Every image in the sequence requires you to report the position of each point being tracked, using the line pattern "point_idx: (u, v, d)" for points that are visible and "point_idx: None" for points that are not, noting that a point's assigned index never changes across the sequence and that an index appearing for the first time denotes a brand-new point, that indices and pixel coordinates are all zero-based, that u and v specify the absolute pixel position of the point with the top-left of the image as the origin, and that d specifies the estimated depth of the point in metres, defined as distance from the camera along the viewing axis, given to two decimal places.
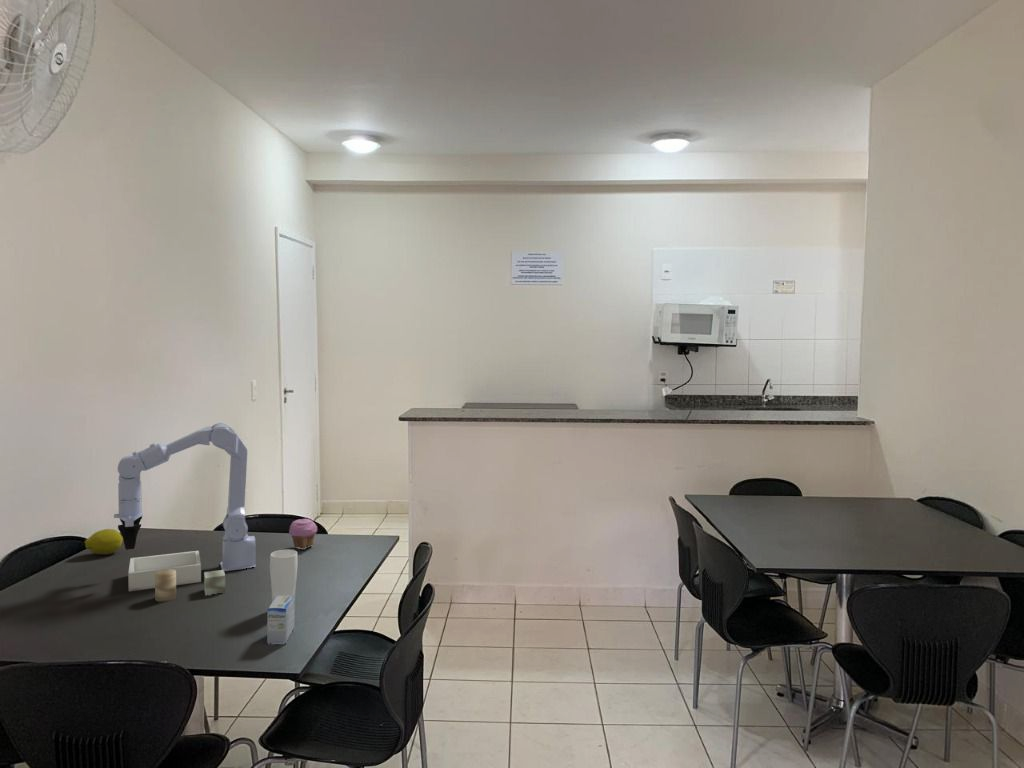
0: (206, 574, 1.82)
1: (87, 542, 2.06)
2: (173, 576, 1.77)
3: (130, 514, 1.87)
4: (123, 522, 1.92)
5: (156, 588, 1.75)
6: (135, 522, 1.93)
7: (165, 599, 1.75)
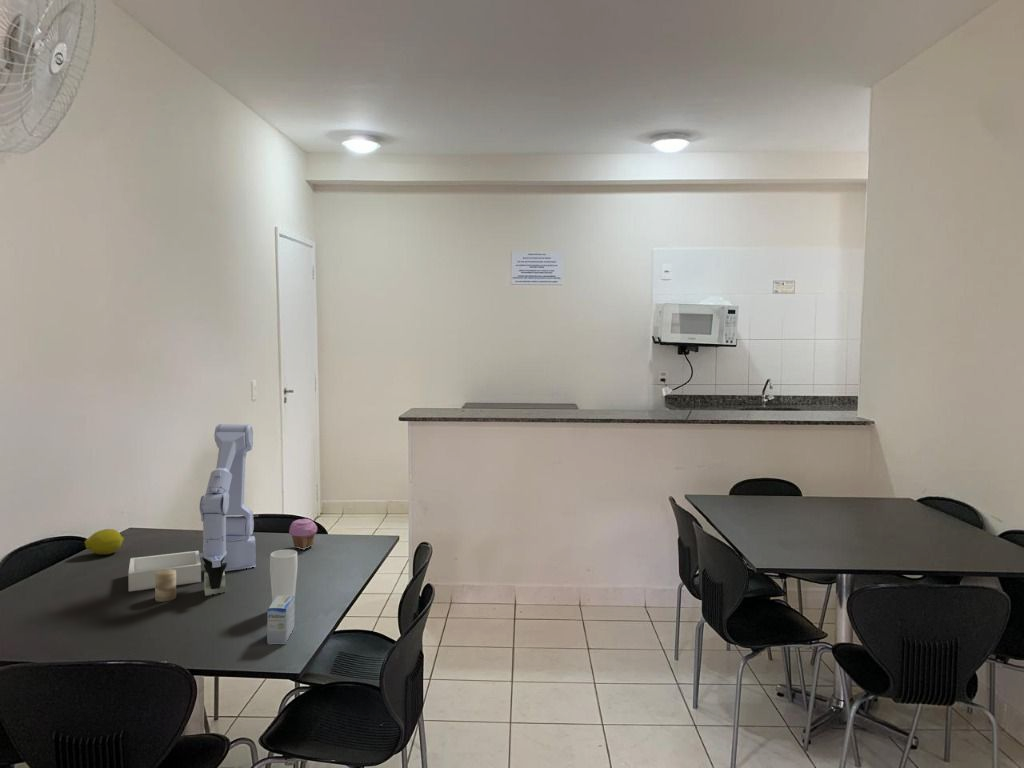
0: (206, 574, 1.82)
1: (87, 542, 2.06)
2: (173, 576, 1.77)
3: (215, 553, 1.80)
4: (206, 562, 1.84)
5: (156, 588, 1.75)
6: None
7: (165, 599, 1.75)
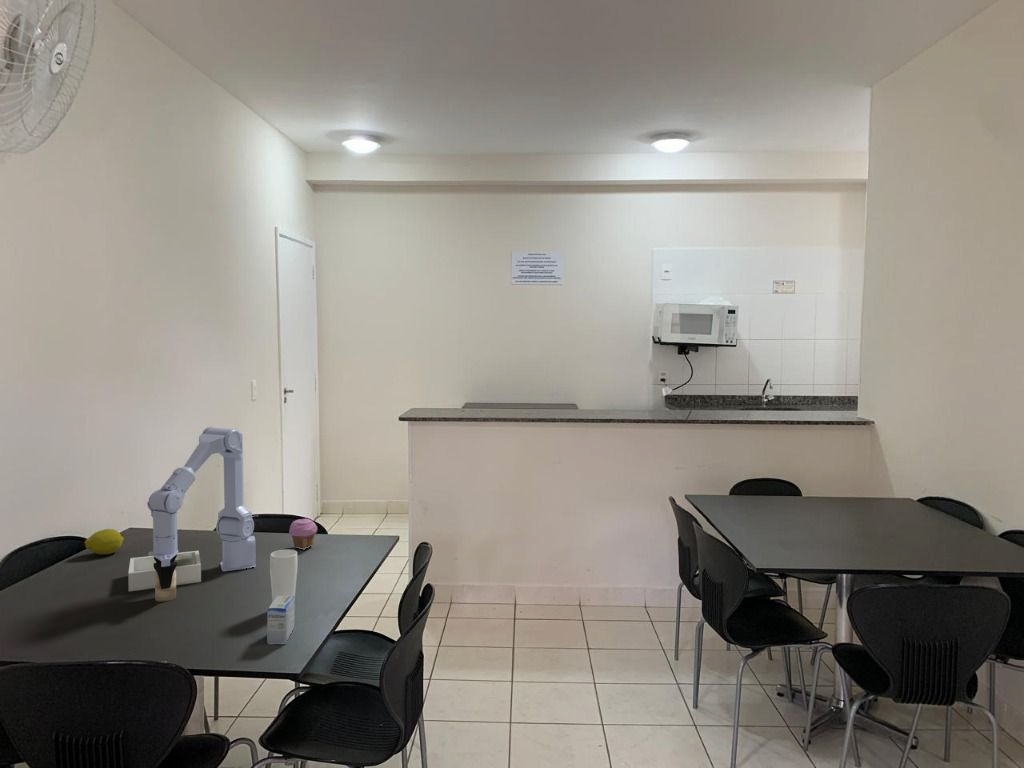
0: None
1: (87, 542, 2.06)
2: (173, 576, 1.77)
3: (166, 552, 1.74)
4: (157, 561, 1.79)
5: (156, 588, 1.75)
6: (170, 560, 1.80)
7: (165, 599, 1.75)
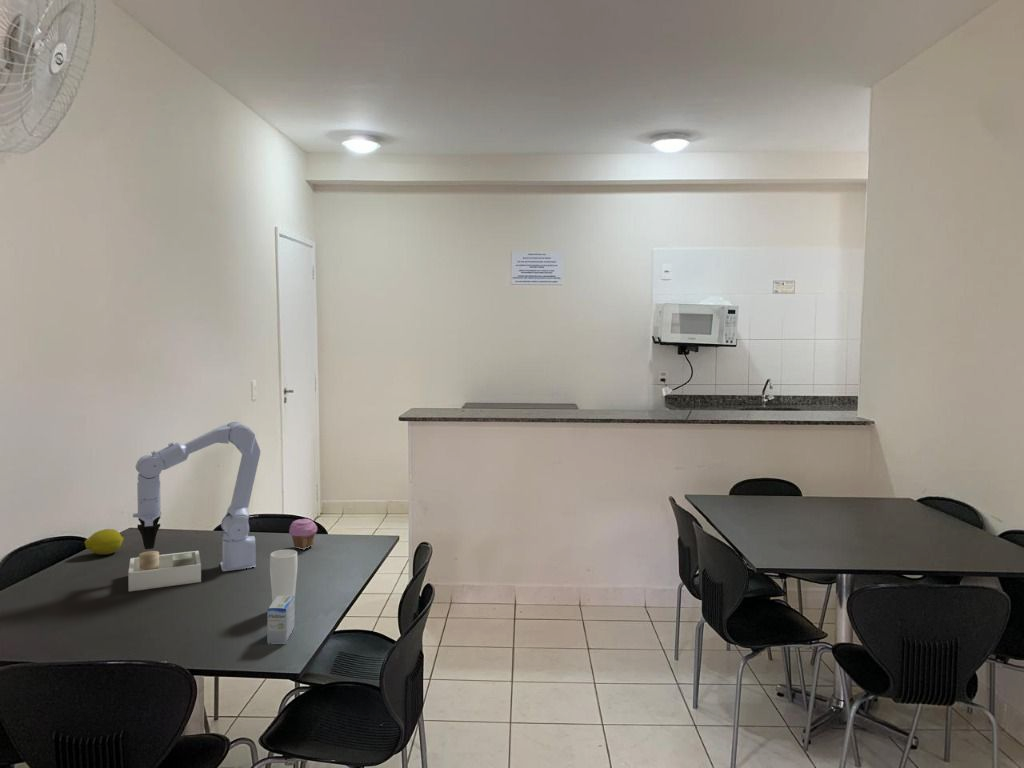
0: (174, 557, 1.93)
1: (87, 542, 2.06)
2: (156, 556, 1.89)
3: (149, 514, 1.86)
4: (142, 522, 1.91)
5: (140, 568, 1.88)
6: (153, 522, 1.93)
7: None
